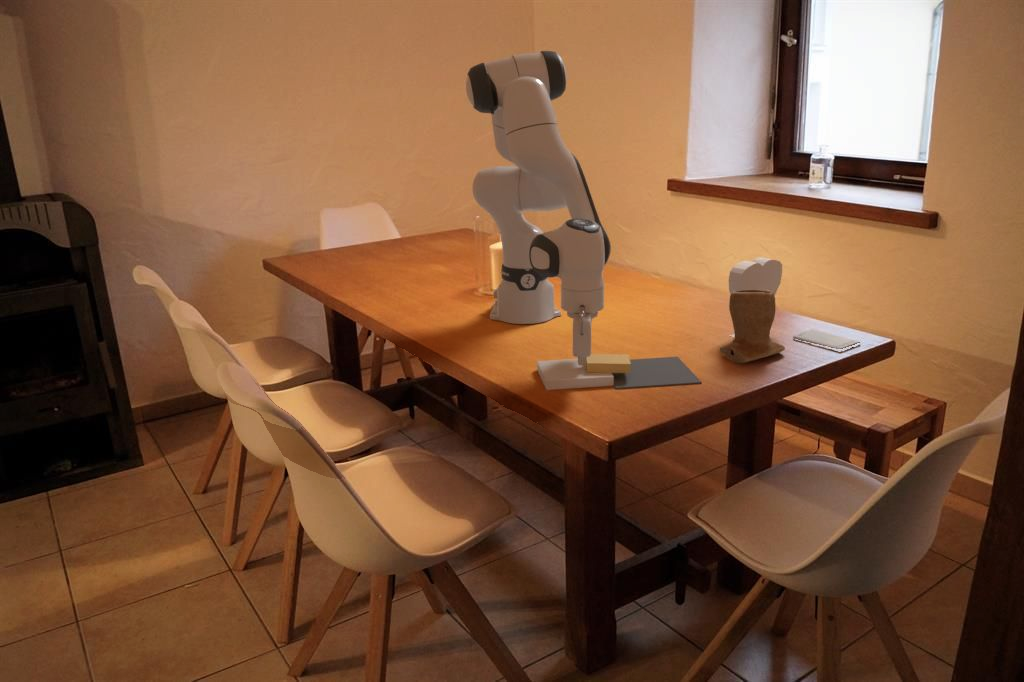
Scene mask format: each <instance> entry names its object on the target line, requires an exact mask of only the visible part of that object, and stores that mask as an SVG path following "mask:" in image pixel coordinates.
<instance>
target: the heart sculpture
mask: <svg viewBox="0 0 1024 682" xmlns="http://www.w3.org/2000/svg"><path fill="white" fill-rule="evenodd" d="M782 275H783V263H782V262H781V261H780V260H778V259H777V260H776V259H773V258H767V257H761V256H760V257H756V258H754V259H753V260H752V261H751V260H742V261H740V262H738V263H737V264H735V265H733V266H732V268H731V270H730V271H729V275H728V290H729V291H728V292H729V293H730V295H731V293H732V292H733V291H737V290H744V289H759V290H770V291H772V292H773V293H774V295H775V296H776V295H777V292H778V289H779V287H780V285H781V280H782ZM729 336H732V337H735V333H732V335H731V334H729ZM729 336H728V337H729Z"/></svg>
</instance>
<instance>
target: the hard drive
mask: <svg viewBox="0 0 1024 682" xmlns="http://www.w3.org/2000/svg"><path fill="white" fill-rule="evenodd" d="M793 338H794V339H798V340H801V341H806V342H810V343H814V344H819V345H823V346H828V347H831V348H836V349H843V348H846V347H849V346H852V345H855V344H857V343H860V342H861V341H858V340H855V339H851V338H848V337H843V336H841V335H840V336H839V335H836V334H832V333H828V332H825V331H821V330H817V329H814V328H812V329H809V330H805V331H803V332H800V333H798V334H795V335H793V336H792V339H793Z"/></svg>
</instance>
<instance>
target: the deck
mask: <svg viewBox="0 0 1024 682" xmlns="http://www.w3.org/2000/svg"><path fill="white" fill-rule="evenodd" d="M536 362H537V363H536V367H537V368H536V370H537V371H538V375H539V377H540V380H541V381H542V384H543V386H544V388H545V390H546V391H550V390H551V391H552V390H566V389H567V390H568V389H582V388H598V387H600V388H601V387H614V376H613V375H612V373H598V372H587V369H586V365H578V358H568V359H567V358H566V359H552V360H537V361H536Z"/></svg>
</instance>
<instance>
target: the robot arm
mask: <svg viewBox="0 0 1024 682" xmlns="http://www.w3.org/2000/svg"><path fill="white" fill-rule="evenodd" d="M567 81H568V73H567V67H566V66H565V63H564V61H563V59H562V57H561V56H560V55H559V54H558V53H557V52H556V51H553V50H541V51H540V52H529V53H520V54H519V53H518V54H512V55H511V56H507V57H502V58H499V59H494V60H492V61H489V62H486V63H484V62H481V63H479V64H476V65H473V66H471V67H470V68H469V70H468V72H467V78H466V83H465V91H466V95H467V98H468V100H469V102H470V104H471V105H472V107H473V109H474V110H476V111H478V112H479V113H482V114H491V123H492V129H493V131H492V132H493V137H494V146H495V148H496V151H497V152H498V154H499V155H500V156H501V157H502V158H504V159H505V161H508V162H510V163H512V164H514V165H497V166H492V167H487V168H481V169H480V170H479V171H478V172H477V174H476V175H475V176H474V179H473V182H472V196H473V198H474V201H475V202H476V203H477V204H478V205H479V207H481V208H482V209H484V210H485V211H486V212H487V213H488V214H489V215H490V217H491V218H492V220H493V221H494V222H495V224H496V226H497V228H498V230H499V233H500V238H501V245H502V247H501V248H502V261H503V262H502V264H501V270H500V274H501V279H502V280H501V281H500V284H499V285H498V287H497V288H496V289H493V298H494V299H496V300H495V301H494V302H493V304H492V308H491V309H490V310H491V311H490V313H489V319H490V320H495V321H501V322H504V323H509V324H513V325H514V324H516V325H528V324H529V325H533V324H541V323H544V322H548V321H550V320H551V319H553V318H557V317H560V316H562V311H561V310H563V311H565V312H566V316H567V317H568V318H570V319H572V354H573V357H576V358H577V359H578V365H586V361H587V357H589V356H590V355H591V354H592V324H593V319H595V318H597V317H598V315H599V312H600V311H602V310H604V308H605V282H604V278H603V273H604V268H605V266H606V264H607V262H608V261H609V259H610V255H611V251H612V250H611V249H612V247H611V246H612V245H611V241H610V238H609V236H608V234H607V231H606V230H605V228H604V227H603V225H602V222H601V220H600V217H599V215H598V212H597V209H596V206H595V203H594V200H593V197H592V195H591V192H590V191H591V190H590V188H589V186H588V183H587V180H586V176H585V173H584V171H583V169H582V166H581V164H580V162H579V160H578V158H577V157H576V155H574V154H573V153H572V152H570V150H569V149H568V148H567V146H566V144H565V143H564V141H563V138H562V136H561V133H560V130H559V126H558V121H557V117H556V113H555V109H554V106H553V103H552V101H554V100H556V99H558V98H561V97H562V95H563V94H564V92H565V91H566V86H567ZM566 208H567V209H568V212H569V215H570V218H571V219H568V220H565V222H563V224H562V225H561V226H560V227H558V228H556V229H552V230H549V231H545V232H544V231H543V230H542V229H541V228H540V227H538V226H537V225H535V224H533V223H531V222H529V221H528V220H527V219H526V218H525V216H524V214H523V211H527V212H529V211H532V212H533V211H534V212H535V211H536V212H537V211H538V212H550V211H555V210H557V211H558V210H561V209H566ZM549 278H558V279H560V280H561V284H560V309H561V310H560V309H558V308H557V307H556V306H555V288H554V287H555V286H554V284H552V282H551V281H549Z"/></svg>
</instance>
